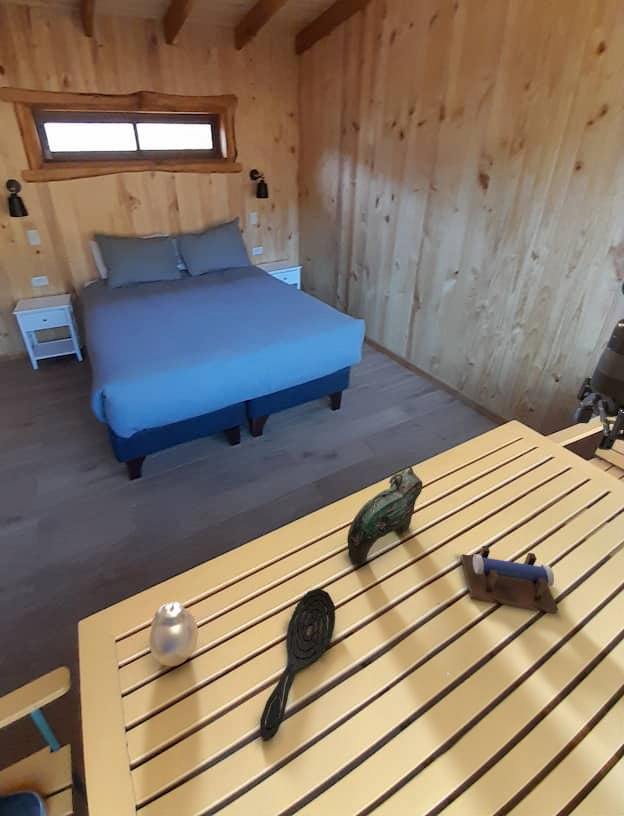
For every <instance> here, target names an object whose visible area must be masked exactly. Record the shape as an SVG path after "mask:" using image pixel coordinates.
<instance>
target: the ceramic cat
mask: <svg viewBox="0 0 624 816" xmlns="http://www.w3.org/2000/svg"><path fill="white" fill-rule="evenodd" d="M388 483H389V484H390V486H389V488H386V489H384V490H382V491H380V492H379V493H377V494H376V495H375V496H373V497H372V498H371V499H369V500H368V501H367V502H366V503H365V504H364V505H362V507H361V508H360V509H359V511H358V512H357V514H355V516H354V518H353V520H352V522H351V524H350V526H349V529H348V531H347V538H346V541H347V550H348V558H349V559H350V560H351V561H352V562H353V563H354V564H355V565H356V566H358V565H360V564H362V563H363V562H365V560H367V558H368V554H369V552H370V550H371V548H372V547H373V545H374V544H375V543H376V542H377V541H378V540H379V539H381V538H383V537H385V536H387V535H388V534H390V533H393V532H395V531H396V532H397V533H398V534H399V535H402V534H403V533H404V532H405V531H407V530H409V529H410V525H411V523H412V519H413V515H414V512H415V506H416V502H417V499H418V498H419V496H420V495H421V494H422V490H423V481H422V479H421V478H420V477H419V476H418V475H417V474H416V473H415V472H414V470H413V467H412V466H409V469H404V470H401V471H400V472H399V473H396V474H395V473H394V475H392V476H391V477H390V479H389V482H388Z"/></svg>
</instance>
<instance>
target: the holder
mask: <svg viewBox="0 0 624 816" xmlns="http://www.w3.org/2000/svg"><path fill="white" fill-rule="evenodd" d="M478 555H481V557H483V558H489V555H490V548H489V546H488V545H482V546H481V548H480V551H479V554H478ZM473 556H474V555H469V554H464V553H463V554H462V553H461V555H460V562H461V567H462V570H463V575H464V578H465V581H466V587H467V590H468V593H469V597H470V599H472V600H478V601H483V602H489V603H493V604H494V603H495V604H500V605H506V606H510V607H511V606H512V607H516V608H523V609H528V610H534V611H540V612H545V613H552V614H557V613H558V611H559V607H558V606H557V602H556V601H555V599H554V596H553V594H552V591H551V589H550V586H548V584H547V582H546V580H545V579H544V578H538V580H537V581H532V580H526V579H519V578H513V577H507V576H501V575H497V572H496V571H495V570H490V571H489V573H483V574H476V573H475V571H474V567H473ZM494 559H495V560H497V559H496V558H494ZM513 562H514V561H513ZM536 562H537V556H536V554H535V553H533V552H528V553H527V555H526V557H525V558H524V561H523V564H527V565H533V566H535V563H536ZM514 563H516V562H514Z"/></svg>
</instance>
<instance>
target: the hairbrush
mask: <svg viewBox="0 0 624 816" xmlns="http://www.w3.org/2000/svg"><path fill="white" fill-rule="evenodd" d="M335 625H336V606H335V603H334V601H333V599H332V597H331V595H330V593H329V592H328V591H326V590H324V589H321V588H320V587H317V588H314V589H311V590H307V591H306V593H304V596H303V597H301V599H300V600H299V602H298V603H297V604H296V606H294V611H292V614H291V618H290V620H289V622H288V626H287V633H286V640H285V641H286V642H285V644H286V655H287V661H286V662H287V663H286V667H285V669H284V670H283V673H282V674H281V676H280V678H279V680H278V683H277V684H276V686H275V688H274V689H273V691H272V692H271V694H270V695H269V697H268V698H267V700H266V702H265V705H264V708H263V710H262V714H261V717H260V720H259V721H260V724H259V726H260V729H259V730H260V737H261V739H263V740H264V741H266V742H268V741H269V740H270V739H272V738H273V737H274V736H275V735H276V734H277V732H278V730H279V728H280V727H281V724H282V721H283V719H284V717H285V713H286V709H287V704H288V700H289V694H290V691H291V688H292V686H293V683H294V680H295V677H296V674H297V673H298V672H300V670H302V669H303V668H305V667H307V666H309V665H311V664H313V663H315V662H317V660H319V659H320V658H321V656H322V655H323V654H324V653H325V652H326V650H327V649H328V646H329V645H330V643H331V641H332V638H333V633H334V630H335ZM310 626H311V631H310V632H309V634H308V628H309V627H310Z"/></svg>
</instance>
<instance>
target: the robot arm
mask: <svg viewBox="0 0 624 816" xmlns="http://www.w3.org/2000/svg"><path fill="white" fill-rule="evenodd" d="M621 292H622V295H623V296H624V281H623V282H622V285H621ZM576 399H577V401H580V402H579V405H580V409H579V411H578V412H577V413H578V414H577V417H576V422H577V423H579V424H589V423H590V421H591V418H592V416H593V414H594V412H595V410H596V411H597V413H598V414H599V422H600V423H601V424H602V433H601V435H600V437H599V439H598V441H597V444H596V447H597V448H598V450H601V451H602V450H603V451H611V450H612V449H613V447H614V445H615V443H616V441H624V318H621V319H620V320H618V321H617V323H616V324H615V326H614V328H613V330H612V332H611V335H610V337H609V340H608V342H607V344H606V346H605V347H604V349H603V351H602V352H601V354H600V356H599V359H598V361H597V364H596V366H595V369H594V371H593V372H592V376H591V377H587V376H585V378H584V380H583V382H582V384H581V386H580V389H579V391H578V393H577V395H576ZM608 418H615V420H613V419H612V420H611V419H608ZM611 425H613V426H612V427H611Z"/></svg>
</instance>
